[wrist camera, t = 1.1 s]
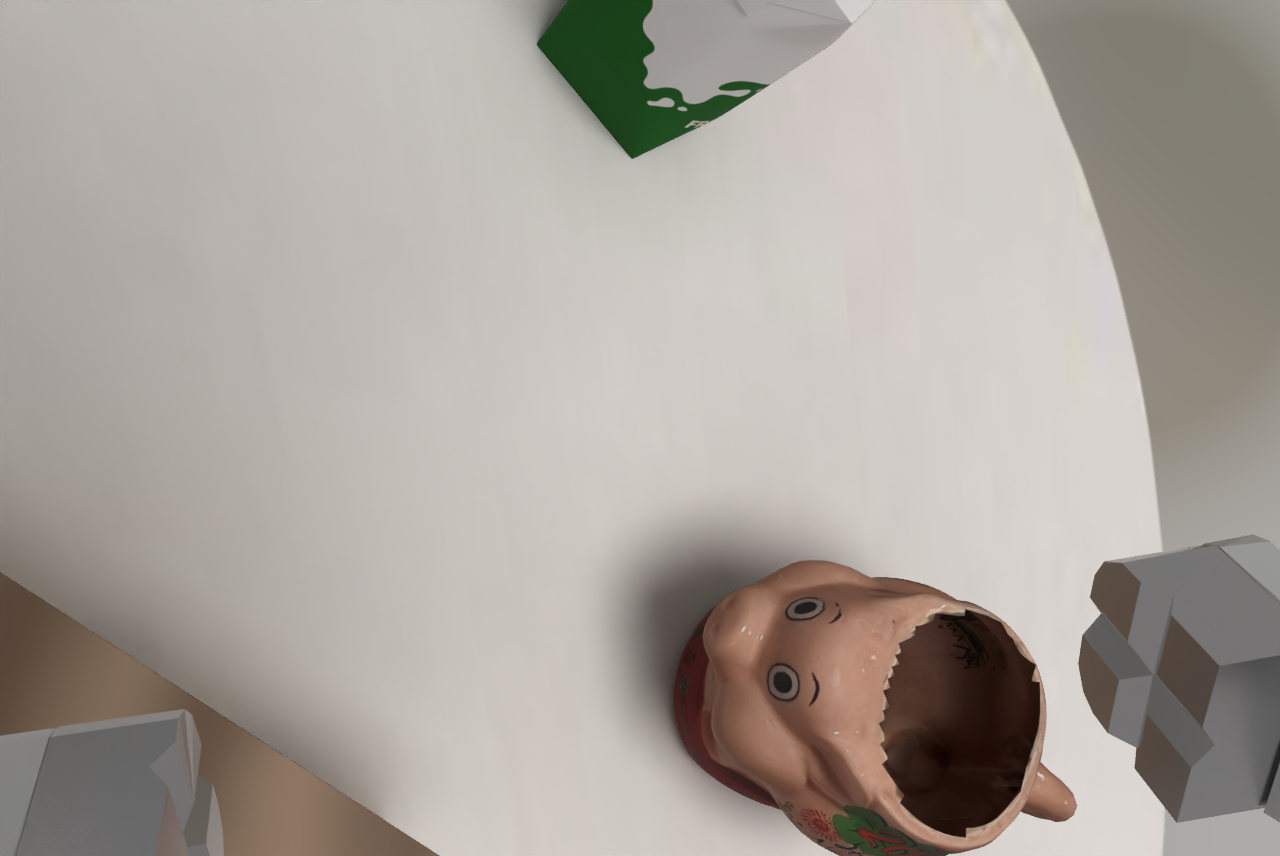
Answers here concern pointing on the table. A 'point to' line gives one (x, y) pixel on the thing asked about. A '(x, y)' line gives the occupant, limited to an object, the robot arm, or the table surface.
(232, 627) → the table surface
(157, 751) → the robot arm
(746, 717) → the pink ceramic mug
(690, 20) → the milk carton
